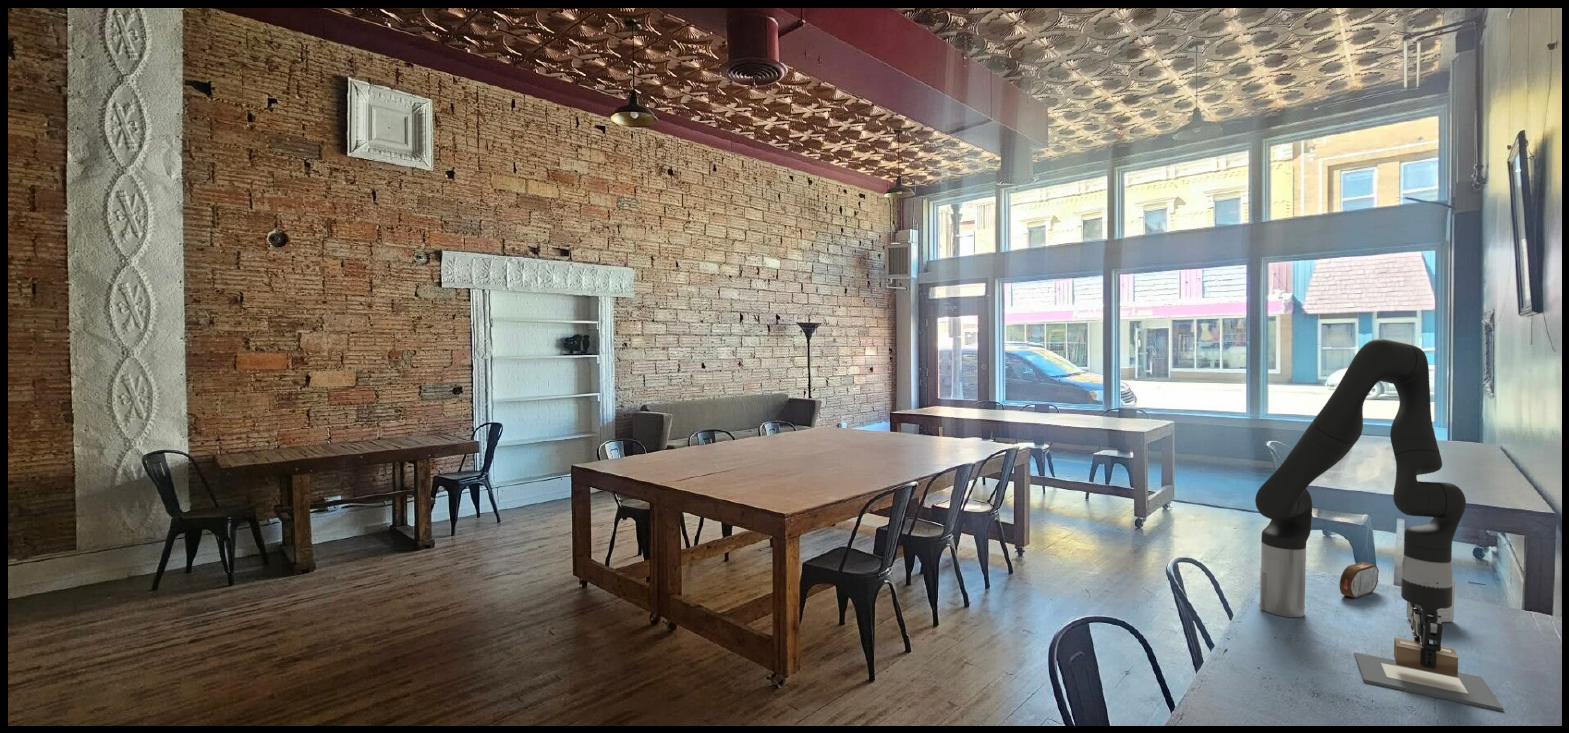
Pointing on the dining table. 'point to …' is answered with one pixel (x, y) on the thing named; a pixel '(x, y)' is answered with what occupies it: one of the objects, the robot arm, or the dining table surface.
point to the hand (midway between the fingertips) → (1424, 661)
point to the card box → (1410, 657)
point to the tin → (1359, 579)
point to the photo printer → (1445, 614)
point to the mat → (1426, 682)
